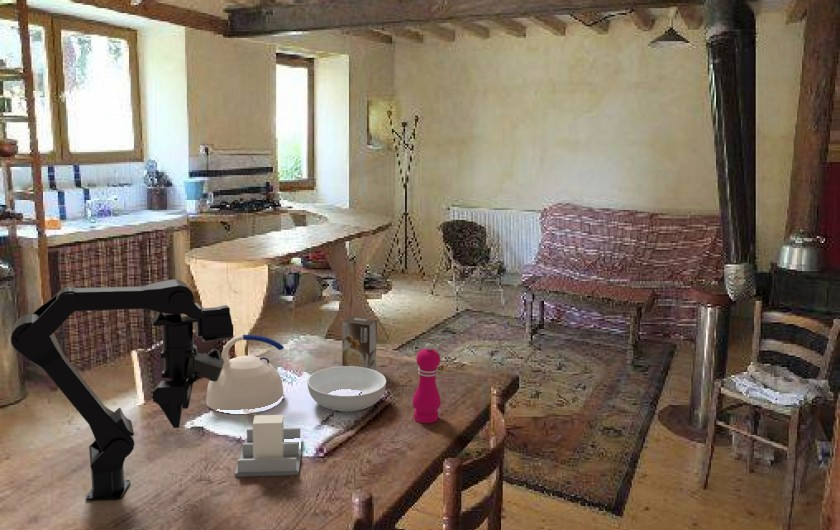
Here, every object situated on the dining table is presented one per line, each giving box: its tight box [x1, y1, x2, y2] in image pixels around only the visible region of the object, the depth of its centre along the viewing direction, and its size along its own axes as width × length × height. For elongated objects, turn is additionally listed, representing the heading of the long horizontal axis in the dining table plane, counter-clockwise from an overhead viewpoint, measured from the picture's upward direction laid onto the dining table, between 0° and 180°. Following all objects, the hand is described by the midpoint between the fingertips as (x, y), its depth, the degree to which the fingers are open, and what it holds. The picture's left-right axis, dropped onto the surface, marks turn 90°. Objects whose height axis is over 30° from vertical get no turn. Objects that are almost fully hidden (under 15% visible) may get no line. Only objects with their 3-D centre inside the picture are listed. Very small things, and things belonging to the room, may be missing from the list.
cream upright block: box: [252, 414, 284, 459], centre depth 139 cm, size 4×6×10 cm, turn 98°
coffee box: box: [341, 316, 378, 371], centre depth 196 cm, size 9×6×16 cm
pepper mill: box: [412, 342, 442, 424], centre depth 164 cm, size 7×7×20 cm
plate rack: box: [234, 427, 302, 478], centre depth 143 cm, size 15×13×4 cm
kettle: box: [205, 334, 285, 411], centre depth 172 cm, size 20×21×18 cm
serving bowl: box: [306, 365, 387, 412], centre depth 173 cm, size 21×21×7 cm
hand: (181, 417), depth 132 cm, fingers open, 9 cm apart
